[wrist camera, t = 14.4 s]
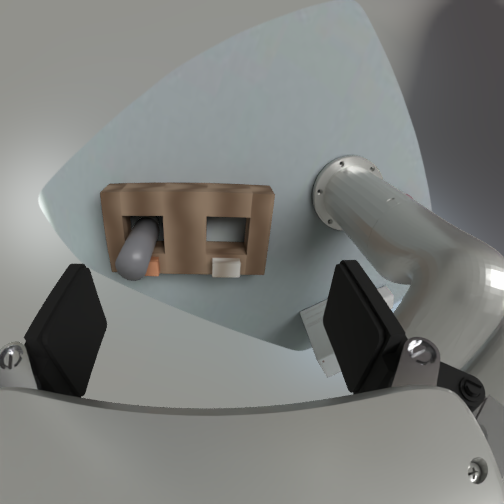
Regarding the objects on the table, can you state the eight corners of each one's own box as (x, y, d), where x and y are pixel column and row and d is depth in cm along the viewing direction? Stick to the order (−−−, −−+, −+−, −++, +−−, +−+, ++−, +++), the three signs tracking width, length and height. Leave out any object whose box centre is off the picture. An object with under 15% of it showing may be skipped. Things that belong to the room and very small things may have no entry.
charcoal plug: (161, 211, 41) (144, 252, 31) (162, 235, 43) (148, 281, 33) (136, 211, 40) (113, 252, 30) (138, 235, 42) (118, 280, 32)
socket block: (269, 185, 41) (277, 198, 36) (260, 260, 48) (265, 280, 43) (109, 183, 37) (96, 196, 33) (118, 258, 44) (109, 277, 39)
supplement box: (309, 332, 59) (326, 379, 48) (298, 311, 55) (316, 360, 44) (340, 318, 58) (362, 362, 47) (332, 295, 54) (356, 342, 43)
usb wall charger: (384, 298, 57) (392, 309, 53) (356, 307, 57) (363, 320, 54) (385, 284, 55) (394, 296, 51) (356, 294, 55) (364, 306, 51)
